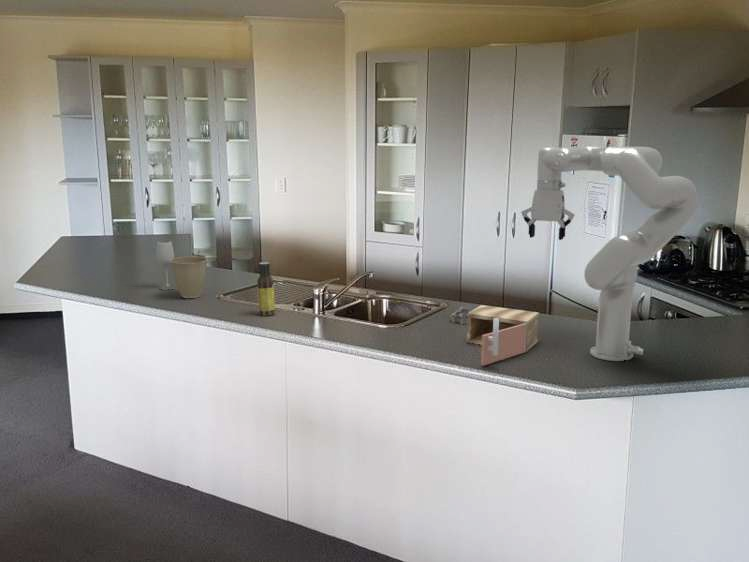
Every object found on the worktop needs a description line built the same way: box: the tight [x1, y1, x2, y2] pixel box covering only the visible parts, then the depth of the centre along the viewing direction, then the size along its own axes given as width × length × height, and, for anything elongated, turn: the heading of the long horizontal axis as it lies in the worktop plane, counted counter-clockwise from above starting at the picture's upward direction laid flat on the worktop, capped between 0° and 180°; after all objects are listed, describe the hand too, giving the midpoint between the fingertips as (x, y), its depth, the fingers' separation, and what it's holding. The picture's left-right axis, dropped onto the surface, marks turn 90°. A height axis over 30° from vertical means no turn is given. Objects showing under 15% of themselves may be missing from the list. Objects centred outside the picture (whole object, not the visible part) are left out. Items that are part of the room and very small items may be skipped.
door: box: [480, 318, 528, 366], centre depth 211 cm, size 20×4×15 cm, turn 129°
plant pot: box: [170, 256, 208, 297], centre depth 291 cm, size 15×15×16 cm
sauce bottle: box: [256, 261, 276, 317], centre depth 264 cm, size 6×6×20 cm
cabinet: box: [466, 304, 540, 352], centre depth 229 cm, size 20×12×10 cm, turn 60°
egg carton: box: [449, 305, 470, 325], centre depth 256 cm, size 11×8×4 cm
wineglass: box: [155, 240, 175, 286], centre depth 306 cm, size 8×8×21 cm
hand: (546, 238), depth 230 cm, fingers open, 9 cm apart
